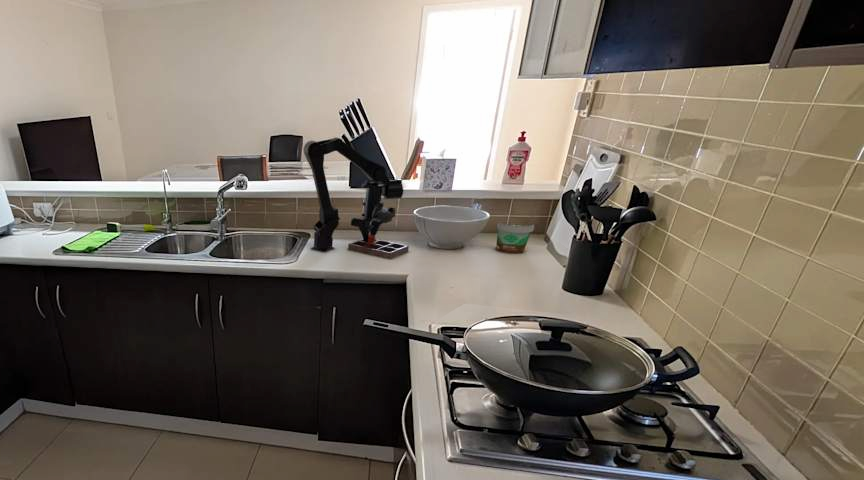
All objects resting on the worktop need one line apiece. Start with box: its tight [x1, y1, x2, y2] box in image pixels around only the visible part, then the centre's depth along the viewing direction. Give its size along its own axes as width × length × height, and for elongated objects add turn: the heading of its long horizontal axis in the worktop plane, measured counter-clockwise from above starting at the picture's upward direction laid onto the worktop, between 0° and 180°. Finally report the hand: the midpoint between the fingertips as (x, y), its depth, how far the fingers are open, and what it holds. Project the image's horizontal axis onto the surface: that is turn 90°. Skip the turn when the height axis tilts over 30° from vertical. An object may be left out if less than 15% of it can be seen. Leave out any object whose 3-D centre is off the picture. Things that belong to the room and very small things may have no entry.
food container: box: [495, 221, 535, 255], centre depth 181 cm, size 12×6×10 cm, turn 68°
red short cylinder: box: [364, 234, 376, 243], centre depth 195 cm, size 4×4×3 cm
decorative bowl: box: [413, 205, 490, 250], centre depth 192 cm, size 27×27×12 cm
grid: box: [347, 238, 410, 260], centre depth 190 cm, size 18×12×2 cm
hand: (369, 240), depth 195 cm, fingers closed on red short cylinder, 4 cm apart
